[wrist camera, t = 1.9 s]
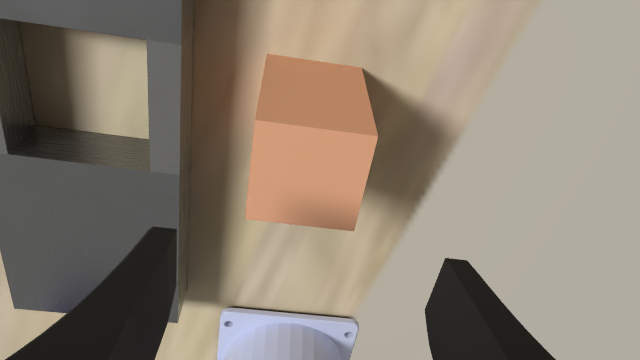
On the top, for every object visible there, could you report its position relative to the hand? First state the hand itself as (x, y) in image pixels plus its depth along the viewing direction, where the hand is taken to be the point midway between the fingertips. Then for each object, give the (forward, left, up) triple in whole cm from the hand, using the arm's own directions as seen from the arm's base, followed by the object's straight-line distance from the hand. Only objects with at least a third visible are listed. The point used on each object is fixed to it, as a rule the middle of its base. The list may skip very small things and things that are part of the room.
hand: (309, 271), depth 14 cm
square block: (0, 0, -10) cm, 10 cm away
